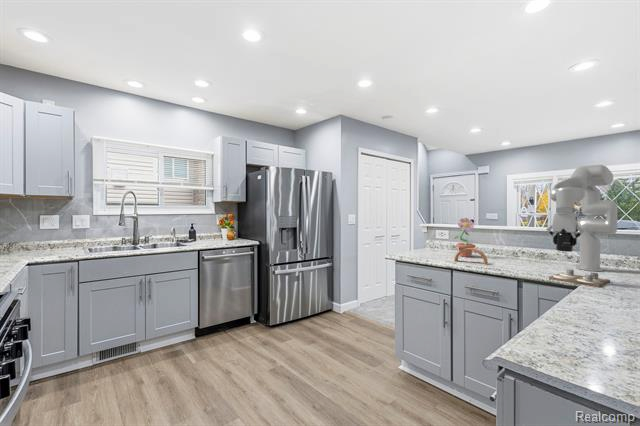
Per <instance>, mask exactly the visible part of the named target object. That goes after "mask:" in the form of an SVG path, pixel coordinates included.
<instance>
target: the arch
mask: <svg viewBox="0 0 640 426" xmlns="http://www.w3.org/2000/svg"><path fill="white" fill-rule="evenodd" d="M466 250H472V252H475V253H477V254H479V255H480V257H481V258H482V259H483V264H484V265H485V264H487V263H488V259H487V256H486V255H485V253H484V252H482V251H481V250H479V249H478V248H476V247H475V248H466V249H463V250H461V251H460V252H459V251H458V252H457V253H456V254H455V256H454V259H453V260H454V262H455V261H456V262H458V261H459V257H460V254H461V253H462V252H463V251H466ZM457 260H458V261H457ZM488 264H489V263H488Z"/></svg>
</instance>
